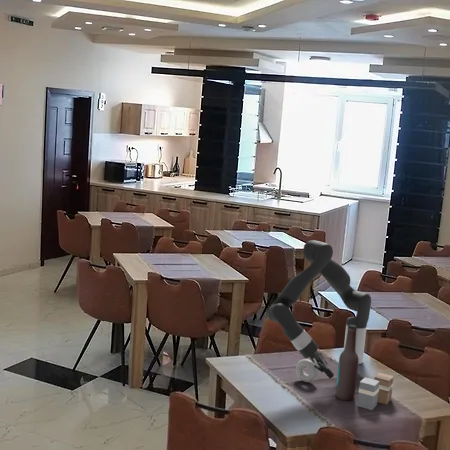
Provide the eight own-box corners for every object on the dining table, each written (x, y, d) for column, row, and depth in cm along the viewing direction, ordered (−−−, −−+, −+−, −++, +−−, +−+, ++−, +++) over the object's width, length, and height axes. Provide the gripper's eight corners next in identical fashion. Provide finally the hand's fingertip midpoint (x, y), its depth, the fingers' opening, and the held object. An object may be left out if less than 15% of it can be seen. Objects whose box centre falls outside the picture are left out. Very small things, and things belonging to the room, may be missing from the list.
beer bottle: (341, 391, 280) (348, 321, 275) (357, 397, 275) (365, 326, 270) (331, 396, 274) (339, 325, 269) (348, 402, 269) (356, 329, 264)
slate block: (362, 400, 272) (364, 377, 270) (377, 405, 269) (380, 381, 267) (356, 405, 267) (359, 381, 265) (372, 410, 264) (375, 385, 262)
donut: (293, 379, 288) (295, 357, 287) (296, 377, 291) (299, 355, 290) (314, 386, 283) (316, 363, 282) (318, 383, 286) (320, 361, 284)
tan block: (376, 395, 278) (379, 372, 277) (391, 399, 275) (394, 376, 274) (371, 400, 273) (374, 376, 271) (386, 404, 270) (389, 380, 268)
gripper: (310, 343, 267) (339, 377, 267) (312, 333, 280) (339, 365, 280) (295, 354, 269) (324, 388, 269) (298, 344, 282) (325, 376, 282)
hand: (332, 376), depth 274 cm, fingers closed
